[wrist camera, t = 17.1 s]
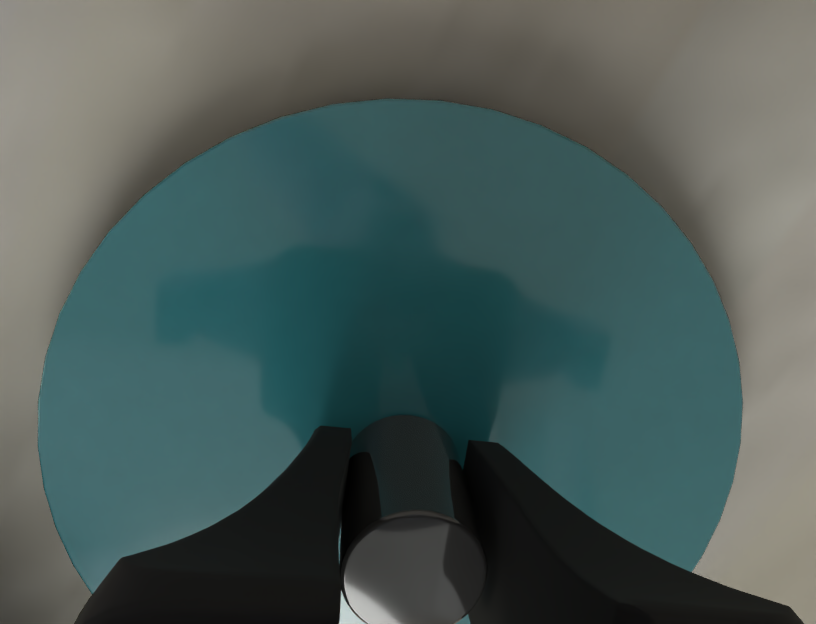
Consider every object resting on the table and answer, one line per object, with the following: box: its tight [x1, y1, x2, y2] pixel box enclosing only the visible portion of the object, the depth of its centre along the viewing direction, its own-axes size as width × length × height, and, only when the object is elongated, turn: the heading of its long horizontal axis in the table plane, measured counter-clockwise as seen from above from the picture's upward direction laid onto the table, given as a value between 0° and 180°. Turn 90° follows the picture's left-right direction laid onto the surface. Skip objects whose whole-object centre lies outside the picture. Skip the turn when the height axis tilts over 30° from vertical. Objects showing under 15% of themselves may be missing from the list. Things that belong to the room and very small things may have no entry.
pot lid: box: [38, 98, 743, 624], centre depth 13 cm, size 15×15×5 cm
